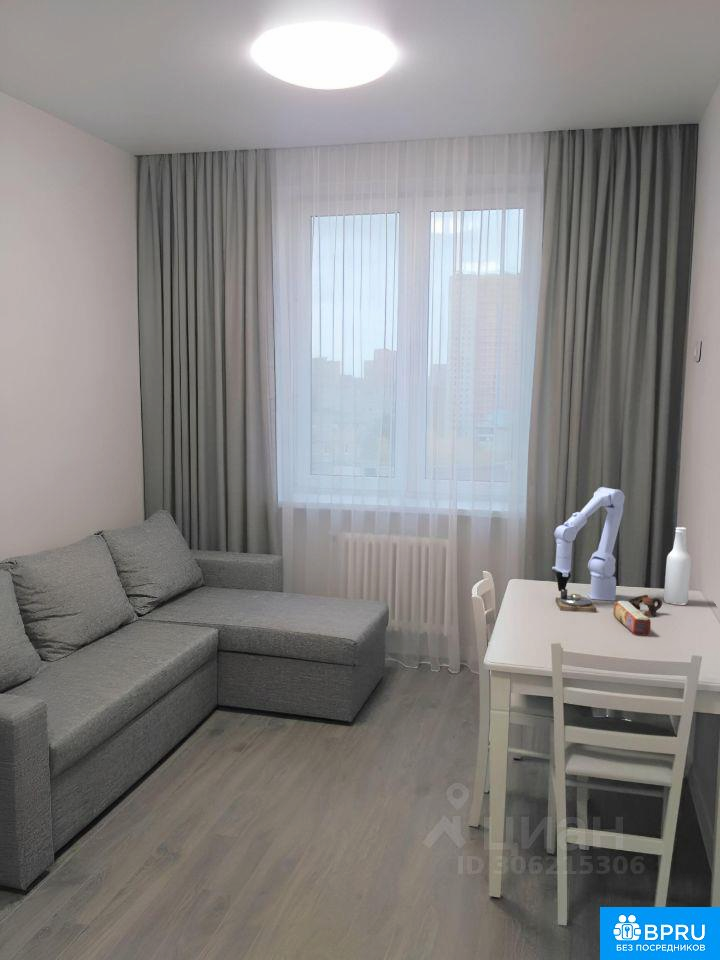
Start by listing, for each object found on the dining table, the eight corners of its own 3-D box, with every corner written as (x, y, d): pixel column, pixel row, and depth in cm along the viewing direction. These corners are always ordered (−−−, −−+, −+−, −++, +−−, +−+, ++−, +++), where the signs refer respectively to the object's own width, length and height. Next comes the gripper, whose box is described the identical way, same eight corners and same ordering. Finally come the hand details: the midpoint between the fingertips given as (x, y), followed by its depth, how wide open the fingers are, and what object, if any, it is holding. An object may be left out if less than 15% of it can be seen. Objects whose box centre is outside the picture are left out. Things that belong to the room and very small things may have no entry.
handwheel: (587, 599, 298) (588, 587, 297) (593, 607, 287) (593, 594, 286) (558, 597, 299) (558, 585, 299) (562, 605, 288) (563, 592, 288)
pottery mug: (640, 619, 280) (631, 597, 283) (630, 623, 289) (622, 602, 292) (670, 611, 282) (661, 589, 284) (659, 615, 291) (651, 594, 293)
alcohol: (660, 599, 308) (666, 525, 305) (683, 600, 308) (689, 526, 304) (667, 605, 300) (673, 529, 296) (690, 606, 299) (696, 530, 296)
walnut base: (589, 603, 299) (589, 599, 299) (596, 612, 286) (596, 608, 286) (555, 601, 300) (555, 597, 300) (560, 610, 287) (560, 606, 287)
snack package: (651, 636, 259) (652, 617, 258) (631, 635, 259) (633, 616, 258) (630, 618, 280) (631, 600, 280) (612, 617, 280) (613, 599, 280)
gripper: (550, 552, 305) (548, 585, 307) (555, 559, 291) (553, 595, 292) (568, 553, 305) (566, 586, 306) (574, 560, 290) (572, 596, 292)
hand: (561, 590), depth 299 cm, fingers closed
